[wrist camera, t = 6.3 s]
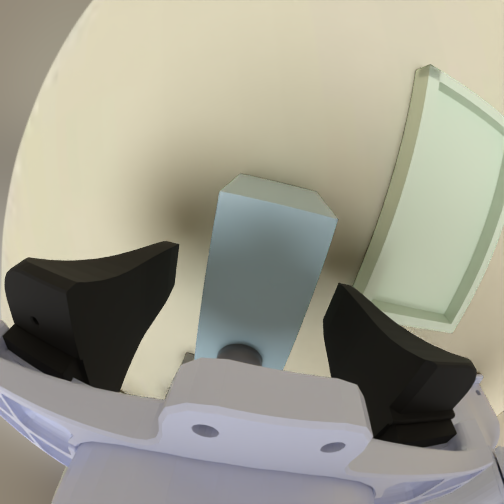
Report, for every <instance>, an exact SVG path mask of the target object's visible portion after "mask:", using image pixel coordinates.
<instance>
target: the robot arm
mask: <svg viewBox="0 0 504 504" xmlns="http://www.w3.org/2000/svg"><path fill="white" fill-rule="evenodd" d="M178 250H179V244H176V243H172V242H168V241H163V242H159V243H156V244H153V245H149V246H146V247H143V248H140V249H137V250H133V251H130V252H126V253H122V254H119V255H115V256H110V257H104V258H98V259H88V260H75V261H61V260H46V259H37V258H29V257H28V258H26V259H25V260H23V261H21V262H20V263H18V264H17V265H16V266H14V267H13V268H11V269H10V270H9V271H8V272H7V273H6V277H5V292H6V297H7V301H8V304H9V308H10V311H11V314H12V318H13V321H14V323H15V324H14V325H13V326H12V327H11V328H10V329H9V327H8V326H7V325H6V323H5V322H3V321H2V320H1V319H0V416H1V417H2V418H4V419H5V420H6V421H7V422H8V423H9V424H10V425H12V426H13V427H14V428H15V429H16V430H17V431H19V432H20V433H21V434H22V435H23V436H25V437H26V438H27V439H28V440H30V441H31V442H32V443H33V444H35V445H36V446H38V447H39V448H40V449H41V450H43V451H44V452H46V453H47V454H48V455H50V456H51V457H53V458H54V459H56V460H57V461H59V462H60V463H62V464H63V465H65V466H66V467H68V469H67V471H66V473H65V475H64V477H63V479H62V482H61V484H60V486H59V488H58V490H57V492H56V495H55V497H54V499H53V501H52V504H504V446H503V447H501V446H498V447H497V448H496V449H495V447H496V445H497V443H498V440H499V435H500V424H499V421H498V418H497V416H496V414H495V412H494V410H493V408H492V407H491V405H490V403H489V401H488V399H487V397H486V395H485V394H484V392H483V390H482V388H481V386H480V385H479V383H480V382H481V380H482V379H483V375H482V374H477V371H476V368H475V367H474V365H473V363H472V362H471V361H470V360H469V359H467V358H464V357H461V356H458V355H455V354H452V353H449V352H447V351H445V350H442V349H440V348H438V347H436V346H434V345H431V344H429V343H427V342H426V341H424V340H422V339H420V338H419V337H417V336H415V335H413V334H412V333H410V332H409V331H407V330H406V329H404V328H403V327H401V326H400V325H399V324H397V323H396V322H395V321H393V320H392V319H391V318H390V317H388V316H387V315H386V314H385V313H383V312H382V311H381V310H380V309H379V308H378V307H376V306H375V305H374V304H373V303H372V302H371V301H370V300H369V299H367V298H366V297H365V296H364V295H363V294H362V293H360V292H359V291H358V290H357V289H355V288H354V287H352V286H350V285H346V284H341V283H338V286H337V288H336V291H335V293H334V295H333V298H332V300H331V303H330V305H329V307H328V309H327V312H326V314H325V316H324V318H323V332H324V341H325V346H326V352H327V357H328V362H329V367H330V373H331V378H330V377H322V376H315V375H308V374H301V373H295V372H289V371H283V370H277V369H272V368H267V367H261V366H256V365H252V364H247V363H242V362H238V361H233V360H229V359H216V358H198V359H196V360H193V361H190V362H187V363H184V364H182V365H181V366H180V368H179V369H178V371H177V373H176V375H175V377H174V378H173V381H172V384H171V386H170V389H169V391H168V394H167V396H166V399H165V400H163V399H155V398H148V397H141V396H135V395H129V394H123V393H119V392H120V389H121V386H122V384H123V381H124V378H125V376H126V373H127V371H128V368H129V366H130V364H131V361H132V359H133V357H134V355H135V352H136V350H137V348H138V346H139V344H140V342H141V340H142V338H143V337H144V335H145V333H146V332H147V330H148V329H149V327H150V326H151V324H152V323H153V321H154V319H155V318H156V316H157V315H158V314H159V312H160V310H161V309H162V307H163V306H164V304H165V303H166V301H167V299H168V297H169V295H170V293H171V291H172V289H173V287H174V285H175V276H176V267H177V258H178ZM494 449H495V451H494Z"/></svg>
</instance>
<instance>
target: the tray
mask: <svg viewBox="0 0 504 504" xmlns="http://www.w3.org/2000/svg"><path fill="white" fill-rule="evenodd" d="M503 226H504V116H503V115H502V114H501V113H499V112H498V111H497V110H496V109H495V108H493V107H492V106H491V105H490V104H488V103H487V102H486V101H485V100H483V99H482V98H481V97H479V96H478V95H477V94H475V93H474V92H473V91H471V90H470V89H468V88H467V87H466V86H464V85H463V84H461V83H460V82H458V81H457V80H455V79H454V78H452V77H451V76H449V75H447V74H446V73H444V72H443V71H441V70H439V69H438V68H436V67H434V66H432V65H431V64H430V65H427V66H425V67H422V68H420V69H418V70H416V73H415V79H414V85H413V91H412V97H411V102H410V107H409V112H408V117H407V121H406V126H405V130H404V134H403V138H402V142H401V146H400V150H399V154H398V158H397V162H396V165H395V169H394V172H393V176H392V179H391V183H390V186H389V189H388V192H387V196H386V199H385V202H384V205H383V208H382V211H381V214H380V217H379V220H378V223H377V225H376V228H375V231H374V234H373V237H372V239H371V242H370V245H369V247H368V250H367V252H366V255H365V258H364V260H363V263H362V265H361V268H360V270H359V272H358V275H357V277H356V280H355V282H354V284H353V287H354V288H355V289H357V290H358V291H359V292H360V293H362V294H363V295H364V296H365V297H366V298H367V299H369V300H370V301H371V302H372V303H373V304H374V305H375V306H376V307H378V308H379V309H380V310H381V311H382V312H383V313H385V314H386V315H387V316H388V317H390V318H391V319H392V320H393V321H395V322H396V323H397V324H399V325H402V326H408V327H414V328H420V329H427V330H433V331H440V332H446V333H453V331H454V330H455V328H456V327H457V325H458V323H459V322H460V320H461V318H462V316H463V315H464V313H465V311H466V309H467V307H468V306H469V304H470V302H471V300H472V298H473V296H474V294H475V292H476V290H477V288H478V286H479V284H480V282H481V280H482V278H483V276H484V274H485V271H486V269H487V267H488V265H489V262H490V260H491V258H492V255H493V253H494V250H495V248H496V245H497V242H498V240H499V237H500V234H501V232H502V229H503Z"/></svg>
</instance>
